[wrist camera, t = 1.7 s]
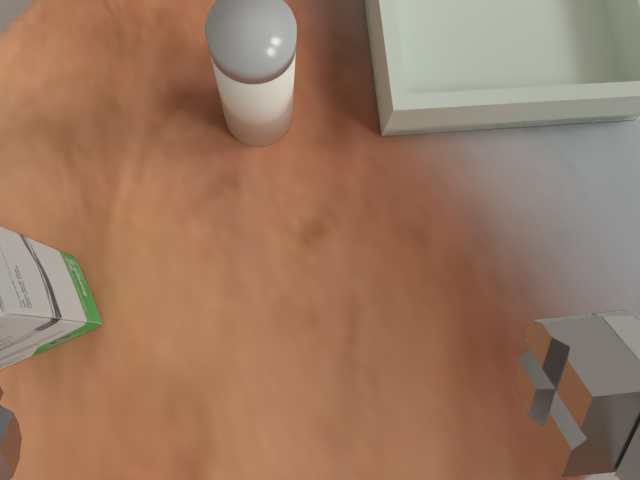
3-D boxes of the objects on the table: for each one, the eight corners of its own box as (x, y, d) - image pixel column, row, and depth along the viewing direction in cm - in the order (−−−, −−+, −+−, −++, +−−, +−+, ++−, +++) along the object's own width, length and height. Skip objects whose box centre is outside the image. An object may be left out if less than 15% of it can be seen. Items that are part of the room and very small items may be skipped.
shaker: (289, 82, 37) (292, -14, 27) (294, 144, 36) (300, 67, 26) (223, 86, 36) (202, -11, 27) (227, 149, 36) (207, 72, 26)
